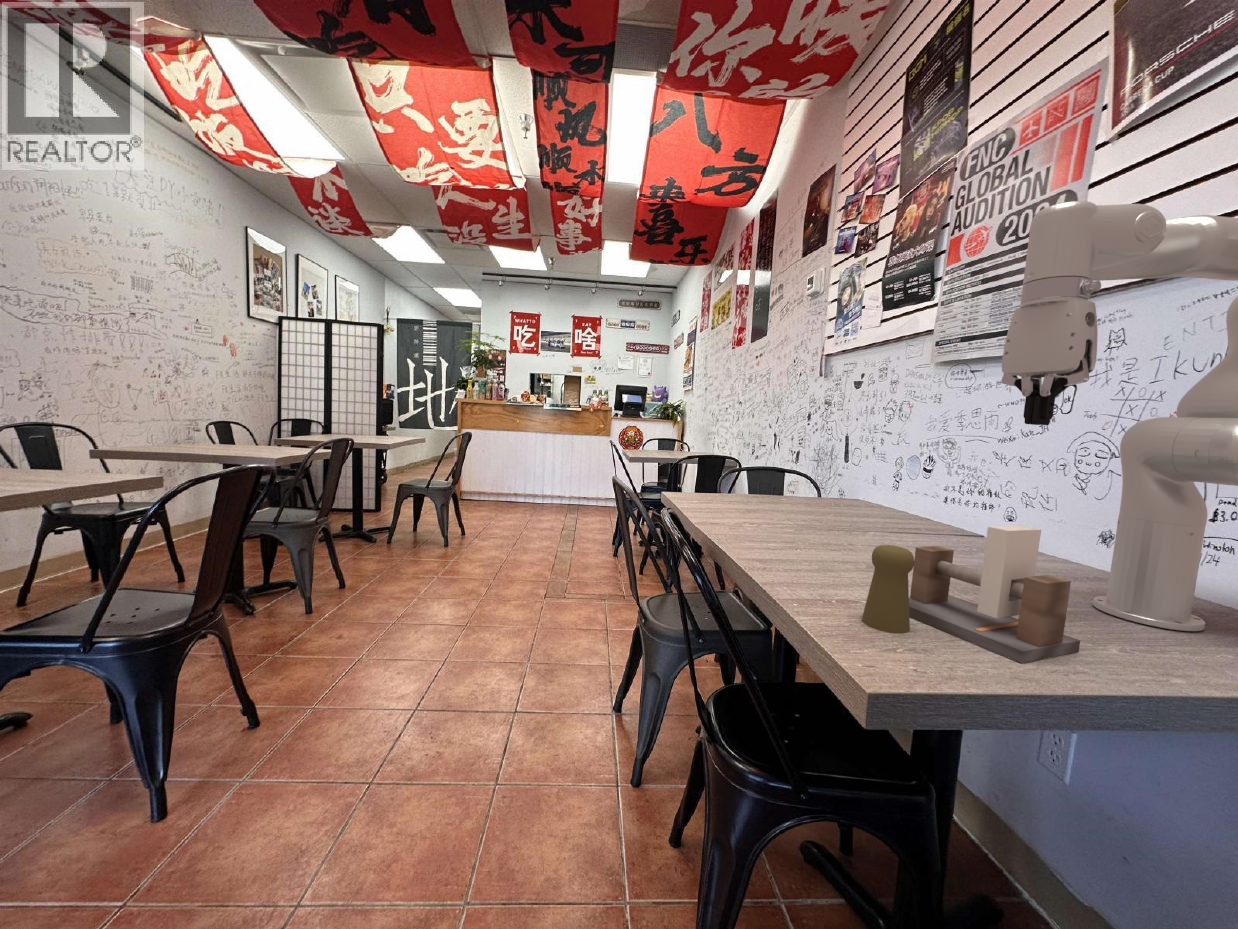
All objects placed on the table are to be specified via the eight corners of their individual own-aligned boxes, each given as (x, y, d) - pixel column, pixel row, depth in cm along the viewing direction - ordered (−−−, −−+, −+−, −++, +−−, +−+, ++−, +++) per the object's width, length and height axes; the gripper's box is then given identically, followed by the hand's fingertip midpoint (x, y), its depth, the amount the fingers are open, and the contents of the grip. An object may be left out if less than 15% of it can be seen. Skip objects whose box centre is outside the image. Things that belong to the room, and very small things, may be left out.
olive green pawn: (914, 636, 69) (924, 554, 68) (864, 628, 71) (872, 548, 70) (905, 620, 75) (914, 545, 74) (859, 613, 77) (867, 539, 76)
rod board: (944, 603, 84) (951, 544, 83) (1078, 651, 67) (1089, 579, 67) (891, 609, 79) (898, 547, 78) (1021, 663, 63) (1031, 586, 62)
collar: (1009, 606, 73) (1020, 525, 72) (1029, 613, 70) (1041, 529, 69) (977, 611, 70) (987, 526, 69) (996, 618, 68) (1008, 530, 67)
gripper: (1134, 290, 70) (1114, 428, 71) (1013, 308, 84) (999, 424, 85) (1103, 281, 67) (1083, 425, 68) (983, 302, 81) (968, 421, 82)
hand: (1036, 424), depth 77 cm, fingers closed
